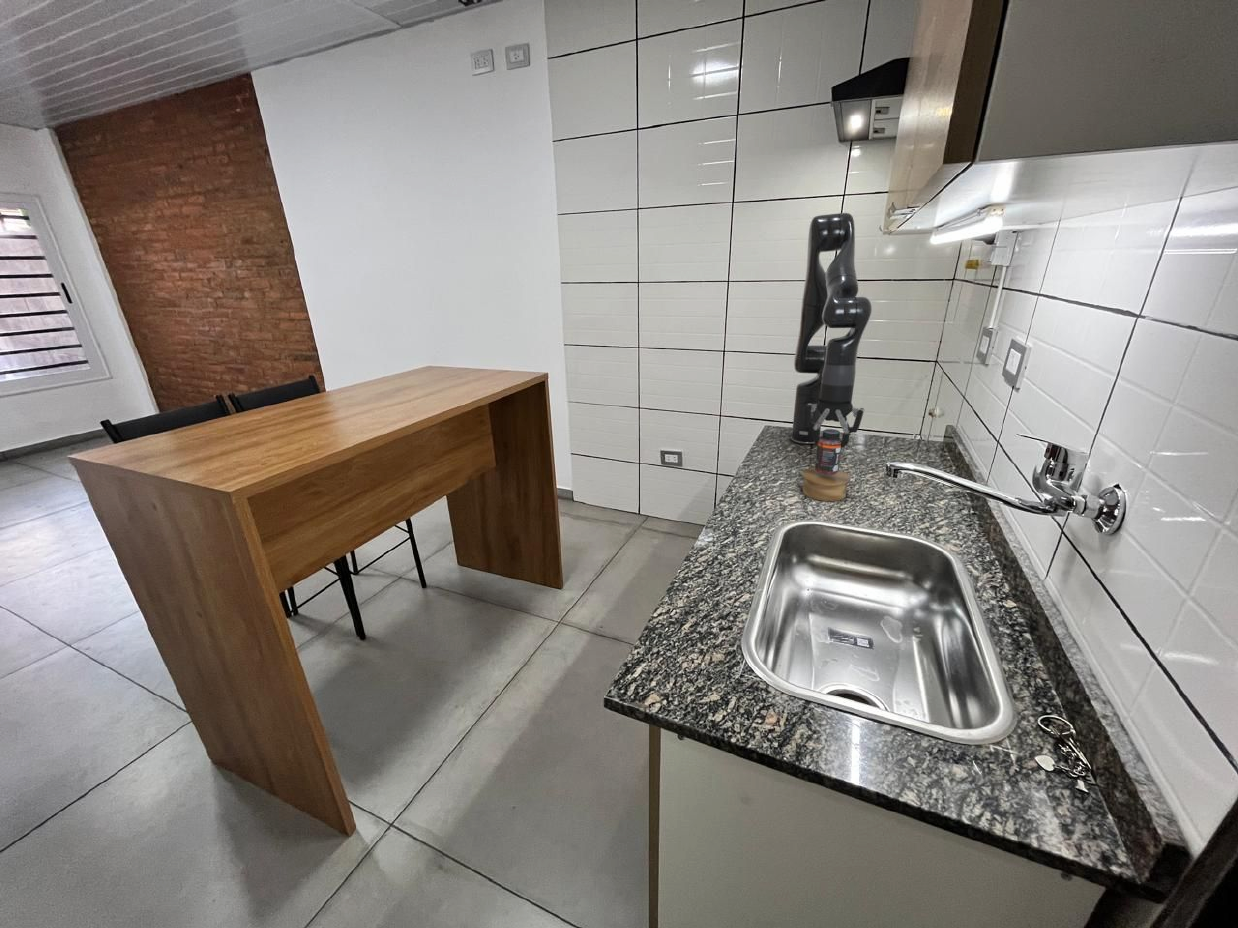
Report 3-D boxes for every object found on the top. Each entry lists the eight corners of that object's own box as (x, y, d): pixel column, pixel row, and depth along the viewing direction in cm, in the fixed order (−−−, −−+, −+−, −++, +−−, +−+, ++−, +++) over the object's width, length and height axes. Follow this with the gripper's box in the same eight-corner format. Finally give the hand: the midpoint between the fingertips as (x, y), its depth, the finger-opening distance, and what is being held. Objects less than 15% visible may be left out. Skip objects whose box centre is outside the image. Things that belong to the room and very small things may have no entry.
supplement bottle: (842, 475, 127) (848, 434, 123) (819, 475, 127) (824, 435, 123) (833, 466, 132) (838, 427, 128) (811, 467, 133) (815, 428, 128)
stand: (806, 480, 140) (808, 464, 138) (851, 488, 133) (854, 472, 132) (795, 496, 130) (797, 479, 129) (843, 505, 124) (845, 487, 122)
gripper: (871, 380, 120) (862, 444, 126) (811, 376, 127) (804, 436, 134) (867, 386, 114) (857, 453, 120) (804, 381, 122) (797, 444, 128)
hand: (829, 444), depth 127 cm, fingers closed on supplement bottle, 6 cm apart
